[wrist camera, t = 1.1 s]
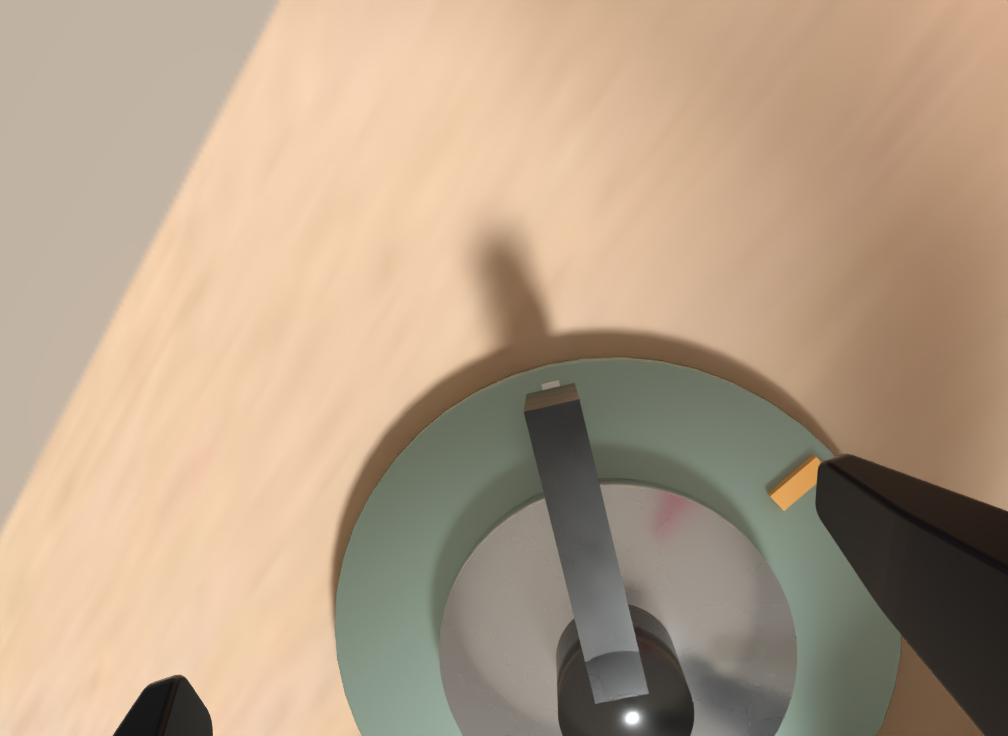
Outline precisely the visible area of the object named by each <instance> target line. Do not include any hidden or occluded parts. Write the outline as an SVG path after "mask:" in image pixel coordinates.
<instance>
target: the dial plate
mask: <svg viewBox="0 0 1008 736" xmlns="http://www.w3.org/2000/svg"><path fill="white" fill-rule="evenodd" d="M571 383H575V385H576V389H577V392H578V395H579V399H580V403H581V407H582V412H583V416H584V420H585V424H586V429H587V433H588V437H589V441H590V446H591V450H592V454H593V458H594V463H595V467H596V471H597V475H598V479H599V478H625V479H636V480H644V481H648V482H653V483H657V484H662V485H666V486H669V487H671V488H674V489H677V490H679V491H682V492H685V493H687V494H689V495H691V496H693V497H695V498H697V499H699V500H701V501H703V502H705V503H707V504H708V505H710V506H711V507H713V508H714V509H715V510H717V511H718V512H720V513H721V514H723V515H724V516H725V517H727V518H728V519H729V520H730V521H731V522H732V523H733V524H734V525H736V526H737V527H738V528H739V529H740V530H741V531H742V532H743V533H744V534H745V535H746V537H747V538H748V539H749V540H750V541H751V543H752V544H753V545H754V546H755V547H756V549H757V550H758V551H759V552H760V554H761V555H762V556H763V558H764V559H765V560H766V561H767V563H768V565H769V566H770V568H771V569H772V571H773V573H774V574H775V576H776V577H777V579H778V581H779V583H780V585H781V587H782V590H783V592H784V594H785V596H786V599H787V601H788V604H789V607H790V611H791V614H792V618H793V621H794V626H795V634H796V641H797V670H796V677H795V683H794V690H793V693H792V696H791V700H790V703H789V706H788V710H787V712H786V714H785V716H784V719H783V721H782V723H781V725H780V727H779V729H778V731H777V733H776V734H775V736H877V734H878V732H879V730H880V728H881V726H882V724H883V722H884V719H885V716H886V713H887V710H888V707H889V704H890V700H891V697H892V694H893V691H894V688H895V683H896V677H897V671H898V666H899V660H900V654H901V634H900V633H899V631H898V630H897V629H896V628H895V627H894V625H893V624H892V623H891V622H890V620H889V619H888V618H887V617H886V615H885V614H884V613H883V611H882V610H881V609H880V608H879V606H878V605H877V603H876V602H875V600H874V599H873V598H872V596H871V595H870V593H869V592H868V590H867V589H866V587H865V586H864V584H863V583H862V581H861V580H860V578H859V577H858V575H857V574H856V572H855V571H854V569H853V568H852V566H851V565H850V563H849V562H848V560H847V559H846V557H845V556H844V554H843V553H842V551H841V550H840V548H839V547H838V545H837V544H836V542H835V541H834V539H833V538H832V536H831V535H830V534H829V532H828V531H827V529H826V528H825V526H824V525H823V523H822V521H821V520H820V518H819V516H818V514H817V511H816V506H815V498H816V484H817V471H818V466H819V465H820V463H821V462H822V461H824V460H827V459H830V458H833V457H835V456H834V455H833V453H832V452H831V451H830V450H829V449H828V448H827V447H825V446H824V445H823V444H822V443H821V442H820V441H819V440H818V439H817V438H816V437H815V436H814V435H813V434H812V433H810V432H809V431H808V430H807V429H806V428H805V427H804V426H803V425H801V424H800V423H799V422H797V421H796V420H794V419H793V418H792V417H790V416H789V415H787V414H786V413H784V412H783V411H782V410H780V409H779V408H777V407H776V406H775V405H773V404H772V403H770V402H768V401H766V400H765V399H763V398H761V397H759V396H757V395H755V394H753V393H751V392H749V391H747V390H746V389H744V388H742V387H740V386H738V385H736V384H734V383H732V382H730V381H728V380H725V379H722V378H720V377H717V376H714V375H711V374H709V373H706V372H703V371H701V370H698V369H695V368H691V367H686V366H682V365H677V364H673V363H668V362H664V361H660V360H651V359H640V358H629V357H600V358H581V359H575V360H569V361H563V362H557V363H551V364H546V365H543V366H539V367H536V368H533V369H530V370H526V371H523V372H520V373H517V374H513V375H510V376H508V377H506V378H504V379H502V380H499V381H497V382H495V383H493V384H491V385H488V386H486V387H484V388H482V389H480V390H478V391H476V392H474V393H473V394H471V395H470V396H468V397H466V398H465V399H463V400H462V401H460V402H458V403H457V404H455V405H454V406H452V407H450V408H449V409H447V410H446V411H445V412H444V413H443V414H441V415H440V416H439V417H438V418H437V419H435V420H434V421H433V422H432V423H430V424H429V425H428V426H427V427H426V428H424V429H423V430H422V431H421V432H420V433H419V434H418V435H417V436H416V437H415V438H414V439H413V440H412V442H411V443H410V444H409V445H408V446H407V447H406V448H405V449H404V450H403V451H402V452H401V453H400V455H399V456H398V457H397V458H396V459H395V460H394V462H393V463H392V464H391V465H390V467H389V468H388V470H387V471H386V473H385V474H384V475H383V477H382V478H381V480H380V481H379V483H378V484H377V486H376V487H375V488H374V490H373V491H372V493H371V494H370V496H369V498H368V500H367V502H366V504H365V506H364V508H363V510H362V512H361V514H360V516H359V518H358V520H357V522H356V524H355V526H354V529H353V531H352V534H351V537H350V540H349V543H348V546H347V549H346V552H345V555H344V558H343V562H342V567H341V572H340V577H339V582H338V587H337V594H336V612H335V636H336V648H337V660H338V664H339V669H340V674H341V678H342V683H343V687H344V692H345V695H346V698H347V700H348V703H349V706H350V709H351V711H352V714H353V717H354V720H355V722H356V725H357V727H358V729H359V731H360V733H361V734H362V736H463V734H462V733H461V731H460V729H459V727H458V725H457V723H456V721H455V719H454V717H453V715H452V713H451V711H450V708H449V705H448V702H447V699H446V696H445V693H444V689H443V684H442V679H441V674H440V662H439V641H440V629H441V624H442V620H443V615H444V611H445V606H446V603H447V600H448V596H449V593H450V590H451V588H452V585H453V582H454V580H455V577H456V574H457V573H458V571H459V569H460V567H461V565H462V563H463V561H464V560H465V558H466V556H467V554H468V553H469V552H470V550H471V549H472V548H473V546H474V545H475V544H476V542H477V541H478V539H479V538H480V537H481V536H482V535H483V534H484V533H485V532H486V531H487V530H488V529H489V528H490V527H491V526H492V525H493V524H494V523H495V522H496V521H497V520H498V519H500V518H501V517H502V516H503V515H505V514H506V513H507V512H509V511H510V510H511V509H513V508H514V507H516V506H518V505H519V504H521V503H523V502H524V501H526V500H528V499H529V498H531V497H533V496H535V495H538V494H540V493H542V492H543V489H542V484H541V480H540V476H539V472H538V468H537V464H536V460H535V456H534V452H533V448H532V444H531V440H530V436H529V431H528V427H527V423H526V419H525V415H524V406H525V400H526V394H528V393H533V392H537V391H541V390H545V389H550V388H554V387H558V386H563V385H567V384H571Z"/></svg>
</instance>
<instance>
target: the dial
mask: <svg viewBox="0 0 1008 736" xmlns="http://www.w3.org/2000/svg"><path fill="white" fill-rule="evenodd" d="M524 415H525V419H526V423H527V427H528V431H529V436H530V440H531V444H532V448H533V452H534V456H535V460H536V464H537V468H538V472H539V476H540V480H541V484H542V489H543V492H542V493H540V494H538V495H535V496H533V497H531V498H529V499H528V500H526V501H524V502H523V503H521V504H519V505H518V506H516V507H514V508H513V509H511V510H510V511H509V512H507V513H506V514H505V515H503V516H502V517H501V518H500V519H498V520H497V521H496V522H495V523H494V524H493V525H492V526H491V527H490V528H489V529H488V530H487V531H486V532H485V533H484V534H483V535H482V536H481V537H480V538H479V539H478V541H477V542H476V544H475V545H474V546H473V548H472V549H471V550H470V552H469V553H468V554H467V556H466V558H465V560H464V561H463V563H462V565H461V567H460V569H459V571H458V573H457V574H456V577H455V580H454V582H453V585H452V588H451V590H450V593H449V596H448V600H447V603H446V606H445V611H444V615H443V620H442V624H441V629H440V641H439V662H440V674H441V679H442V684H443V689H444V693H445V696H446V699H447V702H448V705H449V708H450V711H451V713H452V715H453V717H454V719H455V721H456V723H457V725H458V727H459V729H460V731H461V733H462V734H463V736H775V734H776V733H777V731H778V729H779V727H780V725H781V723H782V721H783V719H784V716H785V714H786V712H787V710H788V706H789V703H790V700H791V696H792V693H793V690H794V683H795V677H796V670H797V641H796V634H795V626H794V621H793V618H792V614H791V611H790V607H789V604H788V601H787V599H786V596H785V594H784V592H783V590H782V587H781V585H780V583H779V581H778V579H777V577H776V576H775V574H774V573H773V571H772V569H771V568H770V566H769V565H768V563H767V561H766V560H765V559H764V558H763V556H762V555H761V554H760V552H759V551H758V550H757V549H756V547H755V546H754V545H753V544H752V543H751V541H750V540H749V539H748V538H747V537H746V535H745V534H744V533H743V532H742V531H741V530H740V529H739V528H738V527H737V526H736V525H734V524H733V523H732V522H731V521H730V520H729V519H728V518H727V517H725V516H724V515H723V514H721V513H720V512H718V511H717V510H715V509H714V508H713V507H711V506H710V505H708V504H707V503H705V502H703V501H701V500H699V499H697V498H695V497H693V496H691V495H689V494H687V493H685V492H682V491H679V490H677V489H674V488H671V487H669V486H666V485H662V484H657V483H653V482H648V481H644V480H636V479H625V478H599V479H598V475H597V471H596V467H595V463H594V458H593V454H592V450H591V446H590V441H589V437H588V433H587V429H586V424H585V420H584V416H583V412H582V407H581V403H580V399H579V395H578V392H577V389H576V385H575V383H571V384H567V385H563V386H558V387H554V388H550V389H545V390H541V391H537V392H533V393H528V394H526V400H525V406H524Z"/></svg>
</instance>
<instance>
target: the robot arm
mask: <svg viewBox="0 0 1008 736" xmlns="http://www.w3.org/2000/svg"><path fill="white" fill-rule="evenodd" d="M815 506H816V511H817V514H818V516H819V518H820V520H821V521H822V523H823V525H824V526H825V528H826V529H827V531H828V532H829V534H830V535H831V536H832V538H833V539H834V541H835V542H836V544H837V545H838V547H839V548H840V550H841V551H842V553H843V554H844V556H845V557H846V559H847V560H848V562H849V563H850V565H851V566H852V568H853V569H854V571H855V572H856V574H857V575H858V577H859V578H860V580H861V581H862V583H863V584H864V586H865V587H866V589H867V590H868V592H869V593H870V595H871V596H872V598H873V599H874V600H875V602H876V603H877V605H878V606H879V608H880V609H881V610H882V611H883V613H884V614H885V615H886V617H887V618H888V619H889V620H890V622H891V623H892V624H893V625H894V627H895V628H896V629H897V630H898V631H899V633H900V634H901V635H902V636H903V637H904V639H905V640H906V641H907V642H908V644H909V645H910V646H911V647H912V648H913V650H914V651H915V652H916V653H917V654H918V656H919V657H920V658H921V659H922V661H923V662H924V663H925V664H926V665H927V667H928V668H929V669H930V670H931V671H932V673H933V674H934V675H935V676H936V677H937V679H938V680H939V681H940V682H941V684H942V685H943V686H944V687H945V688H946V690H947V691H948V692H949V693H950V694H951V696H952V697H953V698H954V699H955V701H956V702H957V703H958V704H959V705H960V707H961V708H962V709H963V710H964V711H965V713H966V714H967V715H968V716H969V717H970V719H971V720H972V721H973V722H974V724H975V725H976V726H977V727H978V728H979V730H980V731H981V732H982V733H983V734H984V736H1008V511H1006V510H1003V509H1000V508H997V507H995V506H992V505H989V504H986V503H984V502H981V501H978V500H975V499H973V498H970V497H967V496H964V495H962V494H959V493H956V492H953V491H951V490H948V489H945V488H942V487H940V486H937V485H934V484H931V483H928V482H926V481H923V480H920V479H917V478H915V477H912V476H909V475H906V474H904V473H901V472H898V471H895V470H893V469H890V468H887V467H884V466H882V465H879V464H876V463H873V462H871V461H868V460H865V459H862V458H860V457H857V456H854V455H850V454H842V455H839V456H836V457H833V458H830V459H827V460H824V461H822V462H821V463H820V465H819V466H818V471H817V484H816V498H815ZM113 736H213V729H212V721H211V717H210V714H209V712H208V710H207V708H206V707H205V705H204V704H203V702H202V701H201V699H200V698H199V696H198V695H197V693H196V692H195V690H194V689H193V687H192V686H191V684H190V683H189V681H188V680H187V679H186V678H185V677H184V676H182V675H174V676H171V677H168V678H165V679H162V680H159V681H156V682H153V683H151V684H149V685H148V686H147V687H146V688H145V689H144V690H143V691H142V693H141V694H140V696H139V697H138V699H137V700H136V701H135V703H134V704H133V706H132V707H131V709H130V710H129V712H128V713H127V715H126V716H125V718H124V719H123V721H122V722H121V724H120V725H119V727H118V728H117V730H116V731H115V733H114V734H113Z"/></svg>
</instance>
